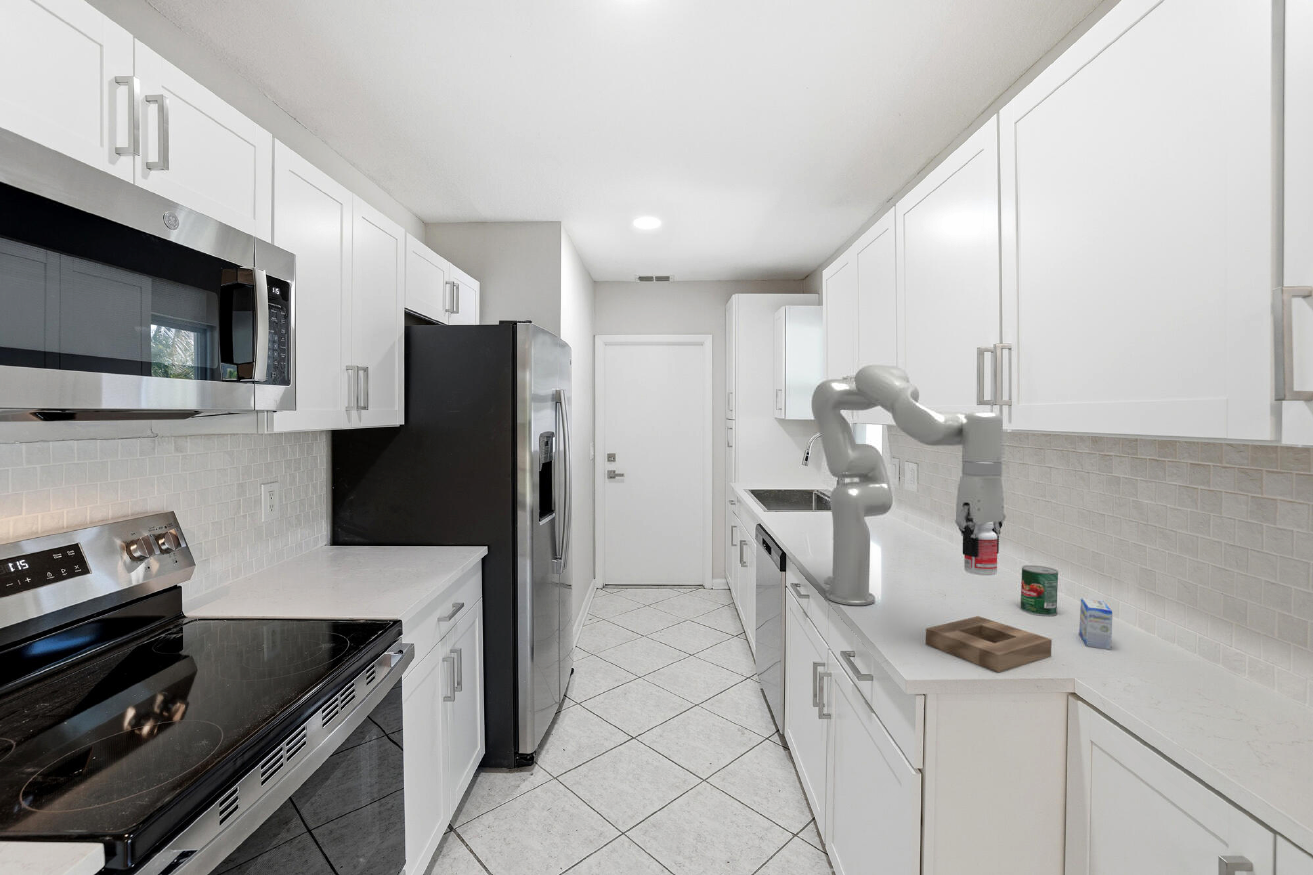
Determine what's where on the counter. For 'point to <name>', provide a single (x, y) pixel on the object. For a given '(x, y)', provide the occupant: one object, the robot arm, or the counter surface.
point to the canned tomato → (1039, 590)
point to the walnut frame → (989, 643)
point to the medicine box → (1095, 623)
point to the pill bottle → (983, 552)
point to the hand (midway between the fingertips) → (980, 553)
